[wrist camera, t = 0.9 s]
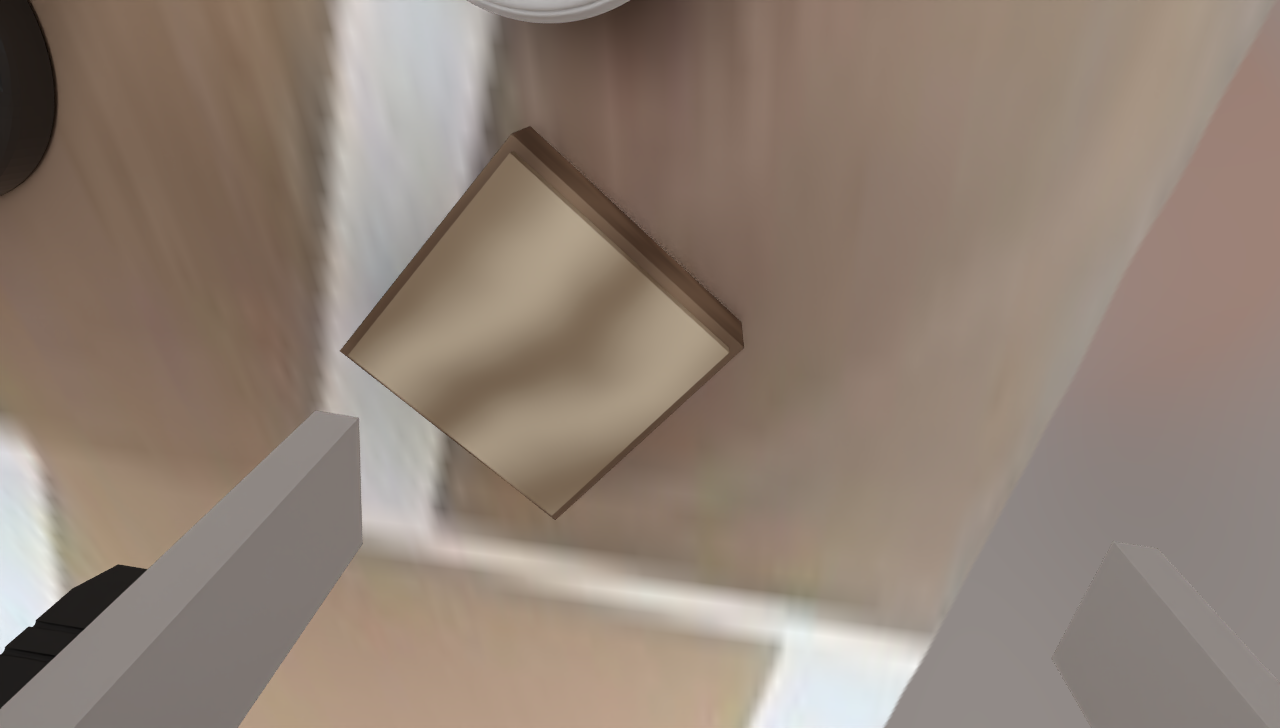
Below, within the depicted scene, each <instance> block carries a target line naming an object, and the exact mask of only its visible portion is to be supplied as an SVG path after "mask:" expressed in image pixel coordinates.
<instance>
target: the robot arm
mask: <svg viewBox="0 0 1280 728" xmlns="http://www.w3.org/2000/svg"><path fill="white" fill-rule="evenodd" d="M53 117H54V86H53V77H52V71H51V65H50V61H49V56H48V53H47V49H46V46H45V42H44V39H43V36H42V34H41V31H40V28H39V26H38V23H37V21H36V18H35V16H34V14H33V12H32V10H31V7H30V5H29V3H28V1H27V0H0V195H2V194H4V193H6V192H8V191H10V190H11V189H13V188H15V187H16V186H17V185H19V184H20V183H21V182H23V181H24V180H25V179H26V178H27V177H28V176H29V175H30V174H31V172H32V171H33V170H34V169H35V167H36V166H37V164H38V163H39V161H40V159H41V158H42V156H43V154H44V151H45V149H46V147H47V144H48V141H49V138H50V134H51V130H52V124H53ZM361 545H362V510H361V476H360V441H359V418H358V417H352V416H345V415H339V414H333V413H327V412H321V411H315V412H313V413H312V414H311V415H310V416H309V417H308V418H307V419H306V420H305V421H304V422H303V423H302V424H301V425H300V426H299V427H298V428H297V429H295V430H294V431H293V432H292V433H291V434H290V435H289V436H288V437H287V438H286V439H285V440H284V441H283V442H282V443H281V444H280V445H279V446H278V447H276V448H275V449H274V450H273V451H272V452H271V453H270V454H269V455H268V456H267V457H266V458H265V459H264V460H263V461H262V462H261V463H260V464H259V465H257V466H256V467H255V468H254V469H253V470H252V471H251V472H250V473H249V474H248V475H247V476H246V477H245V478H244V479H243V480H242V481H241V482H239V483H238V484H237V485H236V486H235V487H234V488H233V489H232V490H231V491H230V492H229V493H228V494H227V495H226V496H225V497H224V498H223V499H222V500H220V501H219V502H218V503H217V504H216V505H215V506H214V507H213V508H212V509H211V510H210V511H209V512H208V513H207V514H206V515H205V516H204V517H203V518H201V519H200V520H199V521H198V522H197V523H196V524H195V525H194V526H193V527H192V528H191V529H190V530H189V531H188V532H187V533H186V534H185V535H184V536H182V537H181V538H180V539H179V540H178V541H177V542H176V543H175V544H174V545H173V546H172V547H171V548H170V549H169V550H168V551H167V552H166V553H164V554H163V555H162V556H161V557H160V558H159V559H158V560H157V561H156V562H155V563H154V564H153V565H152V566H151V567H150V568H149V569H142V568H136V567H130V566H124V565H116V566H115V567H113V568H111V569H109V570H107V571H105V572H103V573H101V574H99V575H97V576H96V577H94V578H92V579H90V580H88V581H86V582H84V583H82V584H80V585H78V586H77V587H75V588H73V589H72V590H70V591H69V592H68V593H67V594H66V595H65V596H63V597H62V598H61V599H60V600H59V601H58V602H56V603H55V604H54V605H53V606H52V607H51V608H50V609H48V610H47V611H46V612H45V613H44V614H43V615H41V616H40V617H39V618H38V619H37V620H36V623H35V625H34V626H33V627H28V628H26V629H25V630H24V631H23V632H22V633H21V634H19V635H18V636H17V637H16V638H15V639H14V640H13V641H11V642H10V643H9V644H8V645H7V646H6V647H5V650H4V652H3V653H2V654H1V655H0V728H238V726H239V725H240V723H241V722H242V721H243V719H244V718H245V716H246V715H247V713H248V712H249V710H250V709H251V707H252V706H253V704H254V703H255V701H256V700H257V698H258V697H259V695H260V694H261V693H262V691H263V690H264V688H265V687H266V685H267V684H268V682H269V681H270V679H271V678H272V676H273V675H274V673H275V672H276V670H277V669H278V668H279V666H280V665H281V663H282V662H283V660H284V659H285V657H286V656H287V654H288V653H289V651H290V650H291V648H292V647H293V645H294V644H295V642H296V641H297V640H298V638H299V637H300V635H301V634H302V632H303V631H304V629H305V628H306V626H307V625H308V623H309V622H310V620H311V619H312V617H313V616H314V615H315V613H316V612H317V610H318V609H319V607H320V606H321V604H322V603H323V601H324V600H325V598H326V597H327V595H328V594H329V592H330V591H331V589H332V588H333V587H334V585H335V584H336V582H337V581H338V579H339V578H340V576H341V575H342V573H343V572H344V570H345V569H346V567H347V566H348V564H349V563H350V562H351V560H352V559H353V557H354V556H355V554H356V553H357V551H358V550H359V548H360V547H361ZM1052 660H1053V662H1054V664H1055V665H1056V667H1057V669H1058V671H1059V672H1060V674H1061V676H1062V677H1063V679H1064V681H1065V683H1066V685H1067V686H1068V688H1069V690H1070V692H1071V693H1072V695H1073V697H1074V698H1075V700H1076V702H1077V704H1078V705H1079V707H1080V709H1081V711H1082V712H1083V714H1084V716H1085V718H1086V719H1087V721H1088V723H1089V725H1090V726H1091V728H1280V682H1279V681H1278V680H1277V679H1276V678H1275V677H1274V676H1273V675H1272V674H1271V672H1270V671H1269V670H1268V669H1267V668H1266V667H1265V666H1264V665H1263V664H1262V663H1261V661H1260V660H1259V659H1258V658H1257V657H1256V656H1255V655H1254V654H1253V653H1252V652H1251V651H1250V650H1249V648H1248V647H1247V646H1246V645H1245V644H1244V643H1243V642H1242V641H1241V640H1240V639H1239V637H1238V636H1237V635H1236V634H1235V633H1234V632H1233V631H1232V630H1231V629H1230V627H1229V626H1228V625H1227V624H1226V623H1225V622H1224V621H1223V620H1222V619H1221V618H1220V616H1219V615H1218V614H1217V613H1216V612H1215V611H1214V610H1213V609H1212V608H1211V607H1210V605H1208V603H1207V602H1206V601H1205V600H1204V599H1203V598H1202V597H1201V596H1200V594H1199V593H1198V592H1197V591H1196V590H1195V589H1194V588H1193V587H1192V586H1191V585H1190V584H1189V583H1188V581H1187V580H1186V579H1185V578H1184V577H1183V576H1182V575H1181V574H1180V573H1179V571H1178V570H1177V569H1176V568H1175V567H1174V566H1173V565H1172V564H1171V563H1170V561H1169V560H1168V559H1167V558H1166V557H1165V556H1164V555H1163V554H1162V553H1161V552H1160V551H1159V549H1158V548H1152V547H1146V546H1139V545H1134V544H1127V543H1121V542H1115V541H1113V542H1112V544H1111V546H1110V548H1109V550H1108V552H1107V554H1106V556H1105V557H1104V559H1103V561H1102V563H1101V565H1100V567H1099V569H1098V571H1097V572H1096V574H1095V577H1094V578H1093V580H1092V582H1091V584H1090V586H1089V588H1088V590H1087V591H1086V594H1085V595H1084V597H1083V599H1082V601H1081V603H1080V605H1079V607H1078V609H1077V611H1076V613H1075V614H1074V616H1073V618H1072V620H1071V622H1070V624H1069V626H1068V628H1067V630H1066V631H1065V633H1064V635H1063V637H1062V639H1061V641H1060V643H1059V645H1058V647H1057V649H1056V650H1055V652H1054V655H1053V656H1052Z"/></svg>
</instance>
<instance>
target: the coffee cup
mask: <svg viewBox="0 0 1280 728" xmlns="http://www.w3.org/2000/svg"><path fill="white" fill-rule="evenodd" d="M467 1H469V2H471V3H472V4H474V5H476V6H478V7H480V8H482V9H485V10H487V11H489V12H492V13H494V14H497V15H500V16H503V17H507V18H511V19H515V20H520V21H525V22H533V23H565V22H573V21H578V20H583V19H587V18H591V17H594V16H597V15H600V14H603V13H605V12H608V11H610V10H613V9H615V8H617V7H619V6H621V5H623V4H624V3H626V2H628V1H630V0H467Z"/></svg>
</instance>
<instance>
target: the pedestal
mask: <svg viewBox="0 0 1280 728" xmlns="http://www.w3.org/2000/svg"><path fill="white" fill-rule="evenodd" d="M743 348H744V342H743V334H742V325H741V322H740V321H739V320H738V319H737V318H736V317H735V316H734V315H733V314H732V313H731V312H730V311H729V310H727V309H726V308H725V307H724V306H723V305H722V304H721V303H720V302H719V301H718V300H717V299H716V298H715V297H713V296H712V295H711V294H710V293H709V292H708V291H707V290H706V289H705V288H704V287H703V286H702V285H701V284H699V283H698V282H697V281H696V280H695V279H694V278H693V277H692V276H691V275H690V274H689V273H688V272H686V271H685V270H684V269H683V268H682V267H681V266H680V265H679V264H678V263H677V262H676V261H675V260H674V259H672V258H671V257H670V256H669V255H668V254H667V253H666V252H665V251H664V250H663V249H662V248H661V247H660V246H658V245H657V244H656V243H655V242H654V241H653V240H652V239H651V238H650V237H649V236H648V235H647V234H646V233H644V232H643V231H642V230H641V229H640V228H639V227H638V226H637V225H636V224H635V223H634V222H633V221H632V220H630V219H629V218H628V217H627V216H626V215H625V214H624V213H623V212H622V211H621V210H620V209H619V208H618V207H616V206H615V205H614V204H613V203H612V202H611V201H610V200H609V199H608V198H607V197H606V196H605V195H604V194H602V193H601V192H600V191H599V190H598V189H597V188H596V187H595V186H594V185H593V184H592V183H591V182H590V181H588V180H587V179H586V178H585V177H584V176H583V175H582V174H581V173H580V172H579V171H578V170H577V169H576V168H574V167H573V166H572V165H571V164H570V163H569V162H568V161H567V160H566V159H565V158H564V157H563V156H562V155H560V154H559V153H558V152H557V151H556V150H555V149H554V148H553V147H552V146H551V145H550V144H549V143H548V142H546V141H545V140H544V139H543V138H542V137H541V136H540V135H539V134H538V133H537V132H536V131H535V130H534V129H532V128H531V127H530V126H529V127H527V128H525V129H522V130H520V131H517V132H515V133H512V134H511V135H510V136H509V138H508V139H507V140H506V141H505V143H504V144H503V145H502V146H501V148H500V149H499V150H498V152H497V153H496V154H495V155H494V157H493V158H492V159H491V160H490V162H489V163H488V164H487V165H486V167H485V168H484V169H483V170H482V172H481V173H480V174H479V176H478V177H477V178H476V179H475V181H474V182H473V183H472V184H471V186H470V187H469V188H468V189H467V191H466V192H465V193H464V195H463V196H462V197H461V198H460V200H459V201H458V202H457V203H456V205H455V206H454V207H453V208H452V210H451V211H450V212H449V213H448V215H447V216H446V217H445V219H444V220H443V221H442V222H441V224H440V225H439V226H438V227H437V229H436V230H435V231H434V232H433V234H432V235H431V236H430V238H429V239H428V240H427V241H426V243H425V244H424V245H423V246H422V248H421V249H420V250H419V251H418V253H417V254H416V255H415V256H414V258H413V259H412V260H411V262H410V263H409V264H408V265H407V267H406V268H405V269H404V270H403V272H402V273H401V274H400V275H399V277H398V278H397V279H396V281H395V282H394V283H393V284H392V286H391V287H390V288H389V289H388V291H387V292H386V293H385V294H384V296H383V297H382V298H381V299H380V301H379V302H378V303H377V305H376V306H375V307H374V308H373V310H372V311H371V312H370V313H369V315H368V316H367V317H366V318H365V320H364V321H363V322H362V324H361V325H360V326H359V327H358V329H357V330H356V331H355V332H354V334H353V335H352V336H351V337H350V339H349V340H348V341H347V343H346V344H345V345H344V346H343V348H342V349H341V350H340V352H342V353H343V354H344V355H345V356H347V357H348V358H349V359H351V360H352V361H353V362H354V363H356V364H357V365H358V366H359V367H361V368H362V369H363V370H365V371H366V372H367V373H368V374H370V375H371V376H372V377H373V378H375V379H376V380H377V381H379V382H380V383H381V384H382V385H384V386H385V387H386V388H388V389H389V390H390V391H391V392H393V393H394V394H395V395H396V396H398V397H399V398H400V399H402V400H403V401H404V402H405V403H407V404H408V405H409V406H410V407H412V408H413V409H414V410H416V411H417V412H418V413H419V414H421V415H422V416H423V417H424V418H426V419H427V420H428V421H430V422H431V423H432V424H433V425H435V426H436V427H437V428H438V429H440V430H441V431H442V432H444V433H445V434H446V435H447V436H449V437H450V438H451V439H453V440H454V441H455V442H456V443H458V444H459V445H460V446H461V447H463V448H464V449H465V450H467V451H468V452H469V453H470V454H472V455H473V456H474V457H475V458H477V459H478V460H479V461H481V462H482V463H483V464H484V465H486V466H487V467H488V468H489V469H491V470H492V471H493V472H495V473H496V474H497V475H498V476H500V477H501V478H502V479H504V480H505V481H506V482H507V483H509V484H510V485H511V486H512V487H514V488H515V489H516V490H518V491H519V492H520V493H521V494H523V495H524V496H525V497H526V498H528V499H529V500H530V501H532V502H533V503H534V504H535V505H537V506H538V507H539V508H540V509H542V510H543V511H544V512H546V513H547V514H548V515H549V516H551V517H552V518H553V519H554V520H556V519H557V518H558V517H559V516H560V515H561V514H563V513H564V512H565V511H566V510H567V509H568V508H569V507H570V506H571V505H572V504H574V503H575V502H576V501H577V500H578V499H579V498H580V497H581V496H582V495H583V494H584V493H586V492H587V491H588V490H589V489H590V488H591V487H592V486H593V485H594V484H595V483H597V482H598V481H599V480H600V479H601V478H602V477H603V476H604V475H605V474H606V473H607V472H609V471H610V470H611V469H612V468H613V467H614V466H615V465H616V464H617V463H618V462H619V461H621V460H622V459H623V458H624V457H625V456H626V455H627V454H628V453H629V452H630V451H632V450H633V449H634V448H635V447H636V446H637V445H638V444H639V443H640V442H641V441H642V440H644V439H645V438H646V437H647V436H648V435H649V434H650V433H651V432H652V431H653V430H654V429H656V428H657V427H658V426H659V425H660V424H661V423H662V422H663V421H664V420H665V419H667V418H668V417H669V416H670V415H671V414H672V413H673V412H674V411H675V410H676V409H677V408H679V407H680V406H681V405H682V404H683V403H684V402H685V401H686V400H687V399H688V398H690V397H691V396H692V395H693V394H694V393H695V392H696V391H697V390H698V389H699V388H700V387H702V386H703V385H704V384H705V383H706V382H707V381H708V380H709V379H710V378H711V377H712V376H714V375H715V374H716V373H717V372H718V371H719V370H720V369H721V368H722V367H723V366H725V365H726V364H727V363H728V362H729V361H730V360H731V359H732V358H733V357H734V356H735V355H737V354H738V353H739V352H740V351H741V350H742V349H743Z"/></svg>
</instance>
